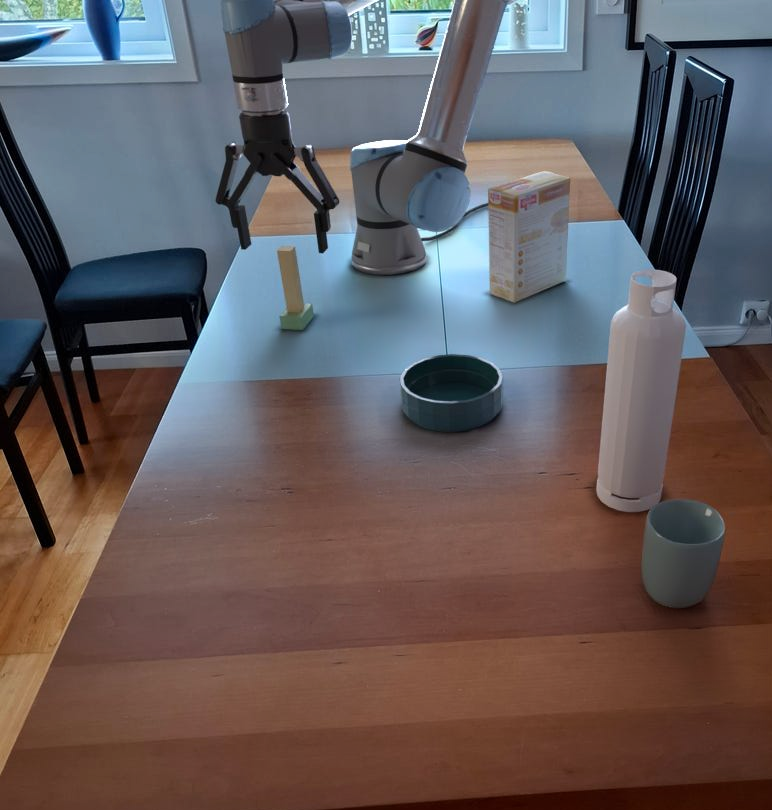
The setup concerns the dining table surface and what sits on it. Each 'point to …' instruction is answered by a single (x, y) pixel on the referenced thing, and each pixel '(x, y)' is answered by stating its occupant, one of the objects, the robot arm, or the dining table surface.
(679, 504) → the cup
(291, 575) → the dining table surface
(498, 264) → the coffeecake box
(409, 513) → the dining table surface
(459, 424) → the bowl
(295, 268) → the brush
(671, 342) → the bottle
